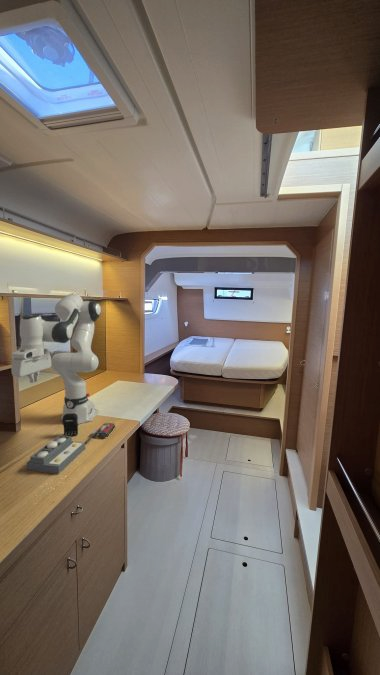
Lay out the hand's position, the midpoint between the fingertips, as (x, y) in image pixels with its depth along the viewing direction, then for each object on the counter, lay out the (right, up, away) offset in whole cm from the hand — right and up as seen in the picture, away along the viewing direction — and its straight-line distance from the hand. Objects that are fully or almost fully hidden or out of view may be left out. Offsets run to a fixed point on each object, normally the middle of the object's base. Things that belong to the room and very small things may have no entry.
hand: (33, 382), depth 121 cm
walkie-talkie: (+25, -31, +17) cm, 43 cm away
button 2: (+12, -28, +1) cm, 31 cm away
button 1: (+10, -29, -11) cm, 33 cm away
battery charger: (+9, -30, +16) cm, 35 cm away
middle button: (+11, -27, -5) cm, 30 cm away
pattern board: (+13, -32, -5) cm, 35 cm away
